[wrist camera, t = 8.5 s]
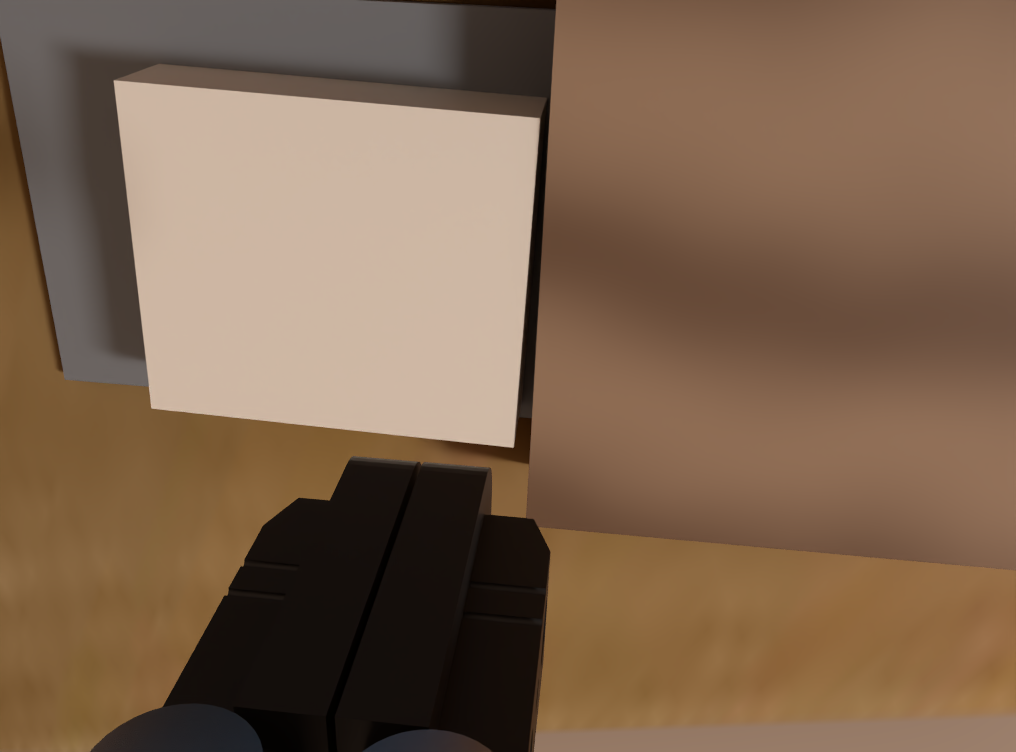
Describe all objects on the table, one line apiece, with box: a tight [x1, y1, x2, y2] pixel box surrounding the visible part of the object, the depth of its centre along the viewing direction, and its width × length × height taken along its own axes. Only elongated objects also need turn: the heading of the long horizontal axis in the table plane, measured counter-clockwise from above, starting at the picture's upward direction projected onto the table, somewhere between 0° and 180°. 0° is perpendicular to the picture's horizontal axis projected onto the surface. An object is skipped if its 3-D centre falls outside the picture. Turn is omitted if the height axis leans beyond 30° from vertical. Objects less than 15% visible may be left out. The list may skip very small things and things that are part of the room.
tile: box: [114, 64, 547, 448], centre depth 20 cm, size 7×8×2 cm
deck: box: [526, 0, 1016, 570], centre depth 19 cm, size 12×16×2 cm
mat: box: [0, 0, 556, 418], centre depth 21 cm, size 9×12×1 cm
